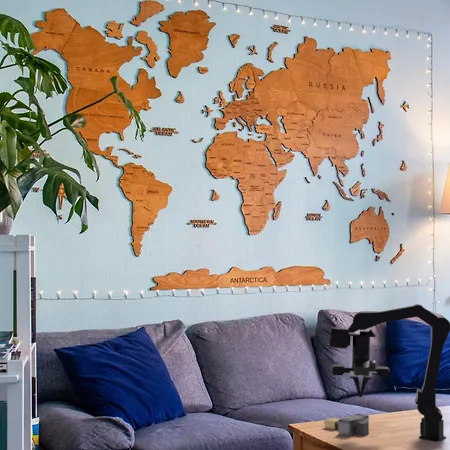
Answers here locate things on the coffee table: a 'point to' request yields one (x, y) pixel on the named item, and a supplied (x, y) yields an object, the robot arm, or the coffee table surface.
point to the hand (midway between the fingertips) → (360, 397)
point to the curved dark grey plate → (350, 424)
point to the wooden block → (331, 423)
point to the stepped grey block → (360, 428)
